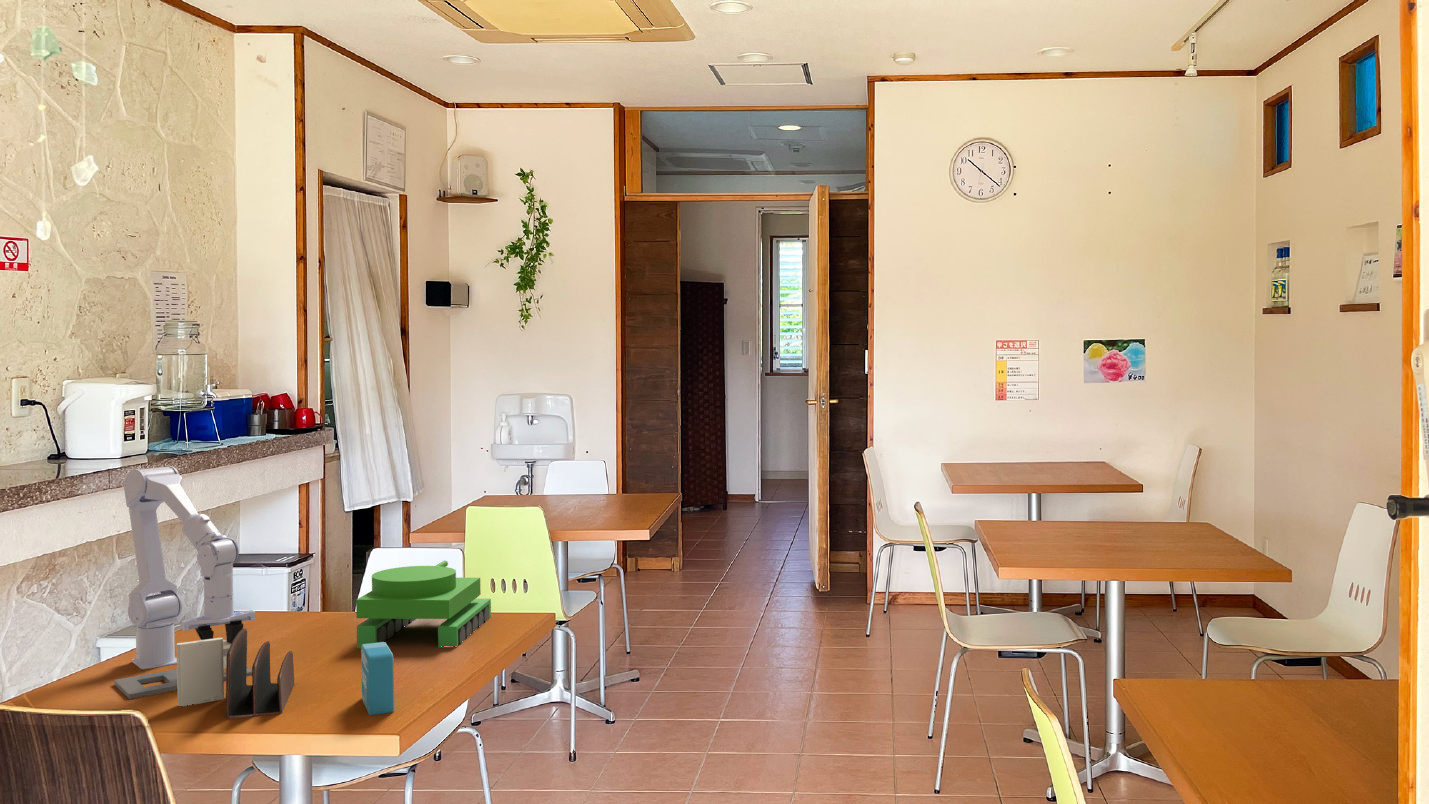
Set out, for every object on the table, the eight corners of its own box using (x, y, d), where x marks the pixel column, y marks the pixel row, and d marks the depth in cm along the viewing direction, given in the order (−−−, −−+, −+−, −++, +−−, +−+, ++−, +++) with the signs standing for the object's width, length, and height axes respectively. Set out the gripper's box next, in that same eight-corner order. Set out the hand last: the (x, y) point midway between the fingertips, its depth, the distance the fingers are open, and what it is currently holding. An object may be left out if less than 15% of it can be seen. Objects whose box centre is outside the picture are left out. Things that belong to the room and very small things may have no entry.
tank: (498, 618, 280) (497, 556, 280) (459, 654, 246) (458, 583, 245) (407, 617, 282) (406, 556, 281) (355, 653, 247) (354, 583, 246)
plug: (205, 663, 232) (204, 640, 232) (221, 660, 234) (221, 637, 234) (215, 670, 226) (214, 647, 226) (232, 667, 228) (232, 644, 228)
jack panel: (114, 684, 222) (114, 678, 222) (235, 663, 238) (235, 657, 238) (129, 699, 212) (129, 692, 212) (254, 675, 228) (254, 669, 228)
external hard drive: (224, 701, 211) (223, 638, 210) (178, 708, 206) (177, 645, 206) (223, 698, 212) (221, 637, 212) (177, 706, 208) (176, 643, 207)
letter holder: (225, 723, 198) (223, 648, 198) (243, 691, 217) (241, 623, 217) (282, 718, 201) (281, 644, 200) (295, 687, 220) (293, 620, 219)
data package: (361, 703, 209) (360, 642, 209) (385, 699, 211) (384, 640, 211) (369, 721, 198) (368, 657, 198) (394, 717, 200) (393, 654, 200)
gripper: (187, 603, 221) (188, 668, 221) (259, 593, 231) (260, 655, 231) (178, 598, 226) (179, 661, 227) (249, 588, 236) (250, 649, 236)
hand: (219, 658), depth 229 cm, fingers closed on plug, 3 cm apart
